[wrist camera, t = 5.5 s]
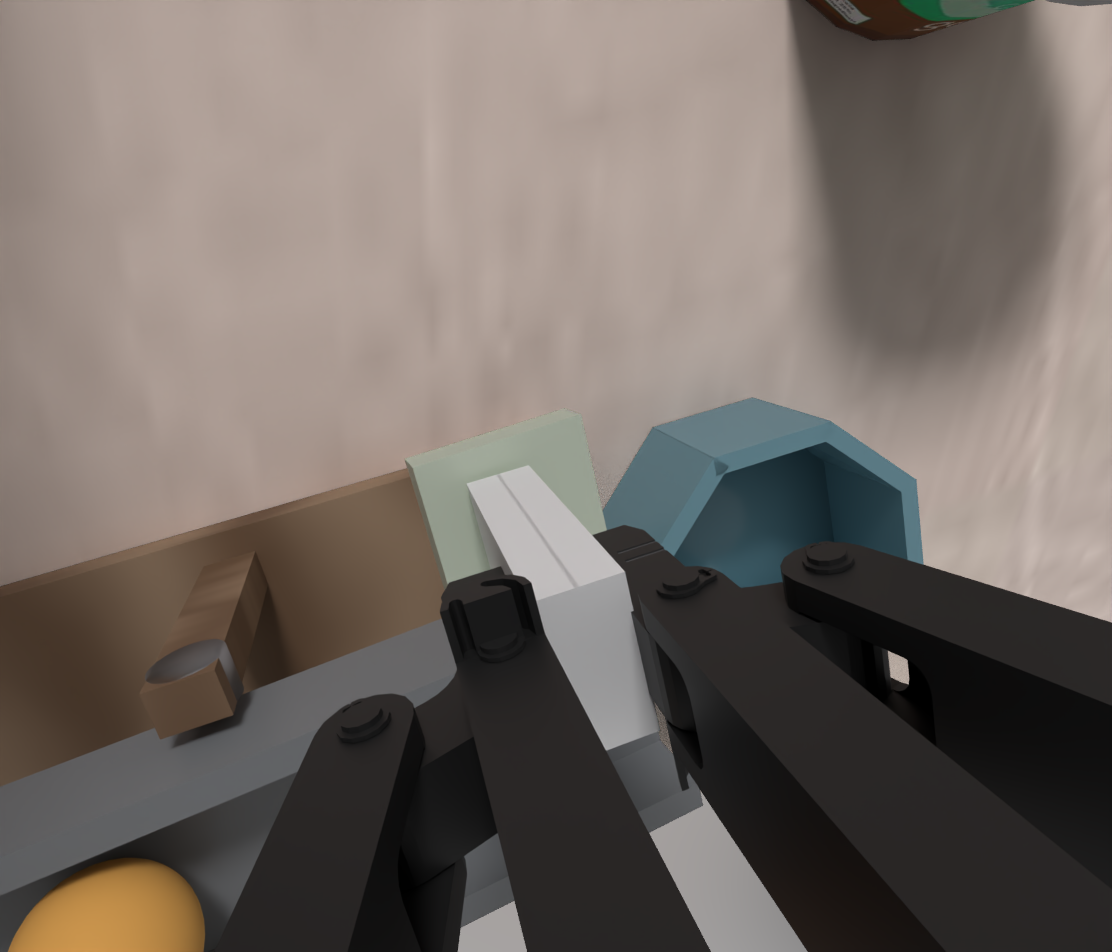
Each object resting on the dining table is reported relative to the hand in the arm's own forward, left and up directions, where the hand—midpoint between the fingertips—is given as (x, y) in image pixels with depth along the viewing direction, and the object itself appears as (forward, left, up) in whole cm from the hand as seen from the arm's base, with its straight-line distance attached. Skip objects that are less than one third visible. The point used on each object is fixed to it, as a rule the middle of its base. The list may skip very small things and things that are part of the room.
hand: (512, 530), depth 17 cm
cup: (+9, -6, -10) cm, 15 cm away
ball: (-11, -6, 0) cm, 13 cm away
